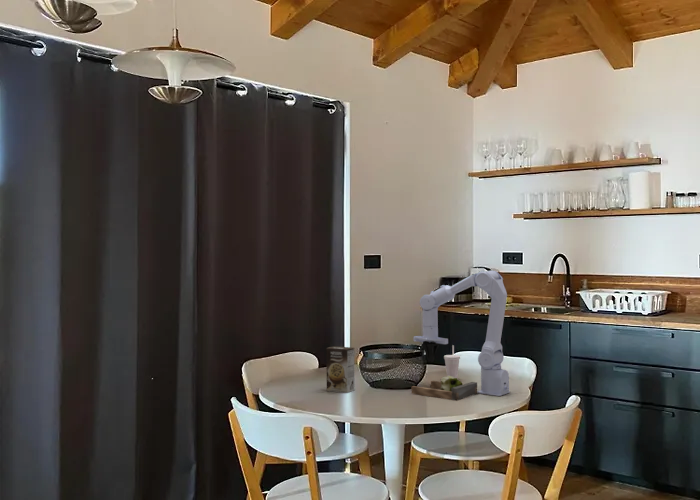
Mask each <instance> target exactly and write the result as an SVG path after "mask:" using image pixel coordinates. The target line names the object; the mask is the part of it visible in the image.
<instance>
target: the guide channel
mask: <svg viewBox="0 0 700 500" xmlns="http://www.w3.org/2000/svg"><path fill="white" fill-rule="evenodd" d="M462 384H463V385H460V386H457V387H454V388H451V389H452V391H445V390H440V389H441V381H439V380H431V381H430V387H421V386H417V385H416V386H415V385H413V386H411V394H412V395H419V396H426V397H431V398H432V397H433V398H438V399H444V400H451V401H459V400H463V399H465V398H468V397H472V396H474V395H478V393H477V391H478V382H475V381H471V382H467V383H462Z"/></svg>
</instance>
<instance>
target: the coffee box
mask: <svg viewBox="0 0 700 500" xmlns="http://www.w3.org/2000/svg"><path fill="white" fill-rule="evenodd" d="M325 351H326V352H325V353H326V359H325V361H326V362H325V363H326V364H325V365H326V367H325V368H326V371H325V372H326V373H325V374H326V391H327V392H335V393H344V394H346V393H347V394H348V393H351V392H353V391H355V387H356V386H355V385H356V384H355V347H350V346H333V345H332V346H329V347H326V348H325Z"/></svg>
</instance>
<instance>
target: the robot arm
mask: <svg viewBox="0 0 700 500" xmlns="http://www.w3.org/2000/svg"><path fill="white" fill-rule="evenodd" d="M503 280H504V278H503V277H502V275H501V274H500V273H499V272H498V271H497V270H493V269H492V270H486V271H485V270H481V271H479V272H477V273H473V274H471V275H469V276H467V277H465V278H463V279H462V280H460V281H458V282H457V283H454V284H453V285H447V284H446V285H445V284H442V285H440V286H439V288H438V289H436V290H435V291H434V290H431V291H430V294H423V295H422V296H421V297H420V298H419V305H420V308H421V309H422V312H421V313H422V336H421V335H414V336H413V337H412V338H413V342H417V343H418V342H419V343H421V347H422V348H423V351H424V353H425V356H426V359H427V362H428V363H433V362H434V361H435V358H436V353H437V351H438V349H439V347H440V345H448V344H449V338H445V337H439V328H438V327H439V325H438V322H439V321H438V320H439V319H438V317H439V316H438V315H439V314H438V311H439V310H438V309H439V307H440V306H441V305H444V304H446V303H448V302H450V301H451V300H454V299H455V296H456V294H458V293H460V292H462V291H465V290H467V289H469V288H471V287H478V288H479V289H481V290H483V291H484V292H485V293H486V294H487V295H488V296H489V297H490V298H491V301H490V306H489V307H490V308H489V314H488V321H487V322H488V323H487V328H486V336H485V342H484V343H483V345H482V347H481V352H480V353H479V354H478V357H477V361H478V364H479V366H480V382H481V383H480V384H481V385H480V388H481V389H480V390H477V394H483V395H488V396H495V397H496V396H497V397H501V396H504V395H507V394H510V393H511V391H510V375H509V372H508V370H506V369H503V368H502V365H501V364H502V363H503V361H504V353H503V345H502V343H501V338H502V335H503V334H502V332H503V327H504V319H505V314H506V313H505V312H506V306H507V299H508V293H507V290H506V287H505V285H504V281H503Z"/></svg>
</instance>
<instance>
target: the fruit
mask: <svg viewBox="0 0 700 500" xmlns="http://www.w3.org/2000/svg"><path fill="white" fill-rule="evenodd" d="M440 382H441V389H439V390H445V391H452V389H451V388H454V387H457V386H460V385H463V384H464V383H463V382H462V381H461V380H460V379H458V377H457V378H454V377H452V376H447V375H446V376H443V377H442V378H441V379H440Z"/></svg>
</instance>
